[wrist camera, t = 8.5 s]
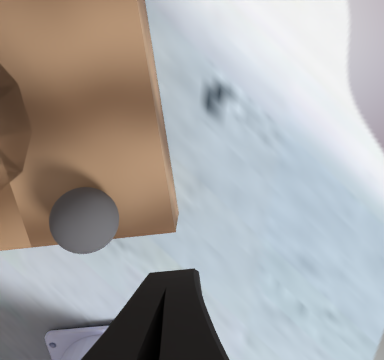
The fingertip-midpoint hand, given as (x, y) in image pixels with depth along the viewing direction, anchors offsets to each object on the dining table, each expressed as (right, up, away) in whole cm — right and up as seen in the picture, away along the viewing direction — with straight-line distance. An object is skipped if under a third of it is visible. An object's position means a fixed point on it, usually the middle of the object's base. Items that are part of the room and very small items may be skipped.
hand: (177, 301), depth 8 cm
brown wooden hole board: (-9, +6, +9) cm, 14 cm away
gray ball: (-5, +1, +6) cm, 8 cm away
